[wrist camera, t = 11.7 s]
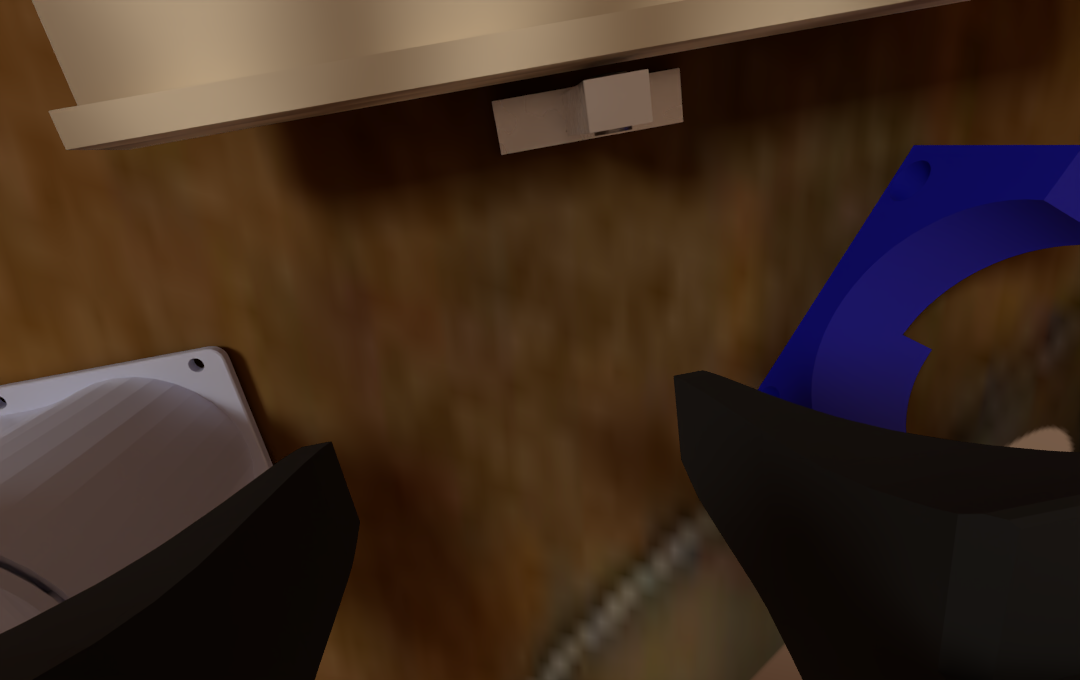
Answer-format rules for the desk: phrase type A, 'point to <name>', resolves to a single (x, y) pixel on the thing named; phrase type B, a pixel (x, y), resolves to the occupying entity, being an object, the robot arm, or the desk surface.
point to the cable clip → (921, 269)
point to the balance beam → (362, 52)
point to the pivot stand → (589, 110)
